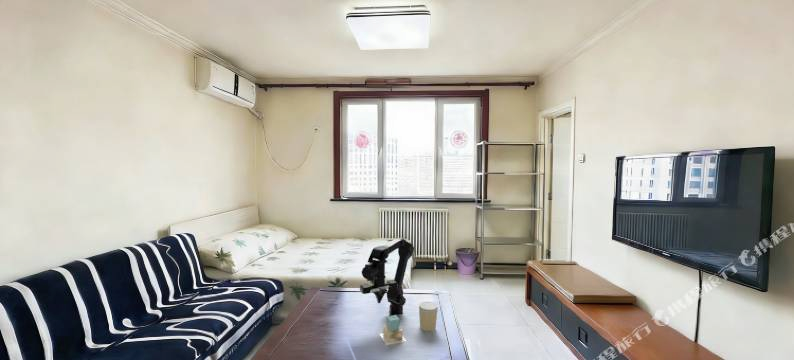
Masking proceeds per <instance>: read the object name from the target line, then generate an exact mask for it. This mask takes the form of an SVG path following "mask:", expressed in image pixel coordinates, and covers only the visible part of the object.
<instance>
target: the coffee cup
mask: <svg viewBox="0 0 794 360" xmlns="http://www.w3.org/2000/svg"><path fill="white" fill-rule="evenodd" d="M438 308H439V307H438V305H437V304H436V303H435V302H432V301H423V302H420V303H419V306H418V309H419V312H418V314H419V328H420V329H421V330H422V331H424V332H425V331H426V332H431V333H435V331H436V328H437V327H436V326H437V319H438V317H437V316H438V315H437V314H438Z"/></svg>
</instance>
